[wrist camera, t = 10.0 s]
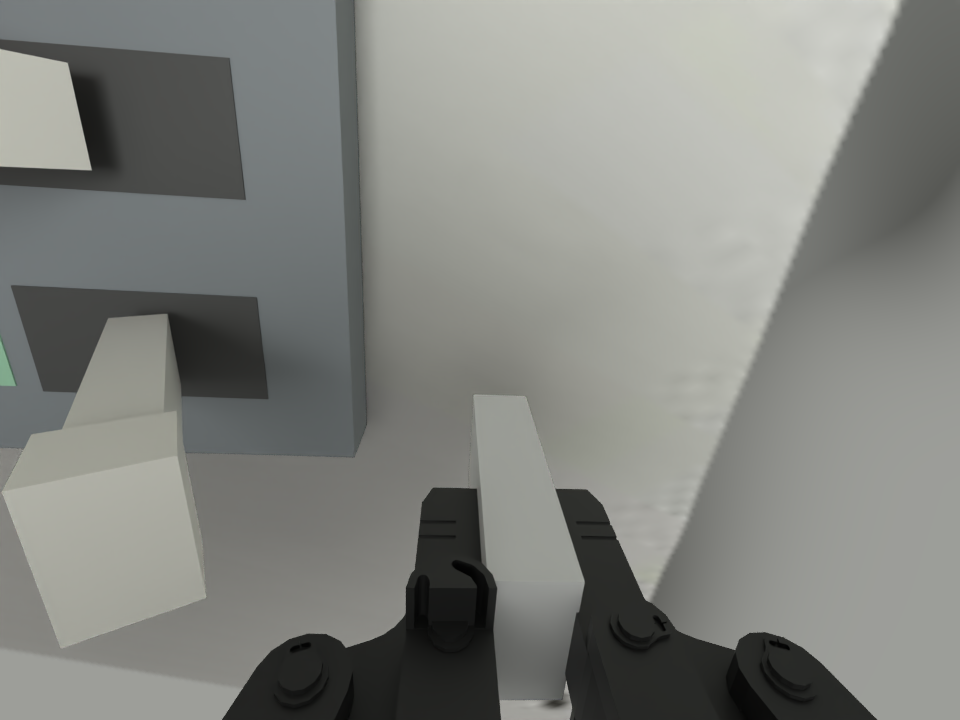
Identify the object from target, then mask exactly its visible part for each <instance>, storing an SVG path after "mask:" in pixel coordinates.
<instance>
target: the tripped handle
mask: <svg viewBox="0 0 960 720" xmlns="http://www.w3.org/2000/svg"><path fill="white" fill-rule="evenodd" d="M2 494H3V497H4V500H5V502H6V505H7V507H8V510H9V513H10V515H11V518H12V521H13V523H14V526H15V529H16V531H17V534H18V537H19V539H20V542H21V545H22V547H23V550H24V553H25V555H26V558H27V561H28V563H29V566H30V568H31V571H32V574H33V576H34V579H35V582H36V584H37V587H38V590H39V592H40V595H41V598H42V600H43V603H44V606H45V608H46V611H47V614H48V616H49V619H50V622H51V624H52V627H53V629H54V632H55V635H56V637H57V640H58V643H59V645H60V648H61V649H62V648H65V647H68V646H70V645H73V644H76V643H79V642H82V641H85V640H88V639H91V638H93V637H96V636H99V635H102V634H105V633H108V632H111V631H114V630H116V629H119V628H122V627H125V626H128V625H131V624H134V623H137V622H139V621H142V620H145V619H148V618H151V617H154V616H157V615H160V614H162V613H165V612H168V611H171V610H174V609H177V608H180V607H183V606H185V605H188V604H191V603H194V602H197V601H200V600H203V599H206V586H205V573H204V559H203V546H202V536H201V531H200V526H199V521H198V516H197V511H196V506H195V501H194V496H193V491H192V486H191V480H190V475H189V470H188V465H187V460H186V455H185V450H184V445H183V431H182V401H181V383H180V377H179V372H178V367H177V361H176V356H175V351H174V345H173V340H172V335H171V330H170V324H169V319H168V314H156V315H143V316H129V317H116V318H108V320H107V322H106V325H105V327H104V329H103V332H102V334H101V337H100V339H99V341H98V344H97V346H96V349H95V351H94V354H93V356H92V358H91V361H90V363H89V366H88V368H87V370H86V373H85V375H84V378H83V380H82V382H81V385H80V387H79V390H78V392H77V394H76V397H75V399H74V402H73V404H72V406H71V409H70V411H69V414H68V416H67V418H66V421H65V423H64V426H63V428H62V429H61V430H55V431H49V432H43V433H37V434H31V436H30V438H29V440H28V442H27V444H26V446H25V448H24V450H23V452H22V454H21V456H20V457H19V459H18V461H17V463H16V465H15V467H14V469H13V471H12V473H11V475H10V477H9V479H8V481H7V482H6V484H5V486H4V488H3V490H2Z"/></svg>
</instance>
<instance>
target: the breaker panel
mask: <svg viewBox="0 0 960 720" xmlns="http://www.w3.org/2000/svg"><path fill="white" fill-rule="evenodd" d="M0 49H2V50H7V51H12V52H17V53H22V54H27V55H32V56H36V57H41V58H46V59H51V60H56V61H61V62H66V63H68V66H69V71H70V75H71V80H72V84H73V89H74V93H75V98H76V102H77V107H78V111H79V115H80V120H81V124H82V129H83V133H84V138H85V142H86V147H87V151H88V156H89V160H90V165H91V169H92V170H70V169H47V168H24V167H1V166H0V448H25V446H26V444H27V442H28V440H29V438H30V436H31V434H37V433H43V432H49V431H55V430H61V429H62V428H63V426H64V423H65V421H66V418H67V416H68V414H69V411H70V409H71V406H72V404H73V402H74V399H75V397H76V394H77V392H78V390H79V387H80V385H81V382H82V380H83V378H84V375H85V373H86V370H87V368H88V366H89V363H90V361H91V358H92V356H93V354H94V351H95V349H96V346H97V344H98V341H99V339H100V337H101V334H102V332H103V329H104V327H105V325H106V322H107V320H108V318H116V317H129V316H143V315H156V314H168V319H169V324H170V330H171V335H172V340H173V345H174V351H175V356H176V361H177V367H178V372H179V377H180V383H181V401H182V431H183V445H184V450H185V453H215V454H252V455H288V456H325V457H355V455H356V452H357V449H358V447H359V444H360V441H361V439H362V436H363V433H364V430H365V428H366V425H367V418H366V384H365V351H364V318H363V285H362V252H361V219H360V185H359V152H358V119H357V86H356V53H355V20H354V0H0Z"/></svg>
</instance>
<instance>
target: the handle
mask: <svg viewBox="0 0 960 720" xmlns="http://www.w3.org/2000/svg"><path fill="white" fill-rule="evenodd" d="M0 166H1V167H24V168H47V169H70V170H92V169H91V165H90V160H89V156H88V151H87V147H86V142H85V138H84V133H83V129H82V124H81V120H80V115H79V111H78V107H77V102H76V98H75V93H74V89H73V84H72V80H71V75H70V71H69V66H68V63H66V62H61V61H56V60H51V59H46V58H41V57H36V56H32V55H27V54H22V53H17V52H12V51H7V50H2V49H0Z"/></svg>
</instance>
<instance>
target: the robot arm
mask: <svg viewBox="0 0 960 720" xmlns="http://www.w3.org/2000/svg"><path fill="white" fill-rule="evenodd" d="M566 681H567V685H568V690H569V694H570V699H571V703H572V712H571V717H570V720H877V719H876V718H875V717H874V716H873V715H872V714H871V713H870V712H869V711H868V710H867V709H866V708H865V707H864V706H863V705H862V704H861V703H860V702H859V701H858V700H857V699H856V698H855V697H854V696H853V695H852V694H851V693H850V692H849V691H848V690H847V689H846V688H845V687H844V686H843V685H842V684H841V683H840V682H839V681H838V680H837V679H836V678H835V677H834V676H833V675H832V674H831V673H830V672H829V671H828V670H827V669H826V668H825V667H824V666H823V665H822V664H821V663H820V662H819V661H818V660H817V659H815V658H814V657H813V656H812V655H811V654H809V653H808V652H807V651H806V650H805V649H803V648H802V647H800V646H798V645H796V644H794V643H793V642H791V641H789V640H787V639H785V638H783V637H780V636H776V635H773V634H769V633H765V632H763V633H749V634H747V635H746V636H744V637H743V638H741V639H740V640H739V642H738V645H737V647H736V650H732V649H729V648H725V647H722V646H719V645H716V644H712V643H709V642H705V641H702V640H698V639H695V638H693V637H690V636H688V635H685V634H683V633H681V632H679V631H677V630H676V629H675V627H674V626H673V625H672V623H671V622H670V620H669V619H668V617H667V616H666V615H665V614H664V613H663V612H662V611H660V610H659V609H658V608H657V607H656V606H654V605H653V604H652V603H650V602H648V601H646V600H645V599H644V597H643V595H642V593H641V590H640V588H639V586H638V584H637V581H636V579H635V577H634V575H633V572H632V570H631V568H630V566H629V563H628V561H627V559H626V557H625V555H624V552H623V550H622V548H621V546H620V543H619V541H618V540H617V539H616V534H615V532H614V530H613V528H612V525H610V521H609V519H608V516H607V514H606V512H605V510H604V508H603V505H602V504H601V503H600V502H599V501H598V500H597V499H596V498H595V497H594V496H593V495H592V494H591V493H590V492H589V491H588V490H583V489H555V487H554V484H553V480H552V477H551V474H550V471H549V468H548V465H547V462H546V458H545V455H544V452H543V449H542V446H541V443H540V439H539V436H538V433H537V430H536V427H535V424H534V421H533V417H532V414H531V411H530V408H529V405H528V402H527V399H526V396H510V395H482V394H474V395H473V411H472V427H471V443H470V459H469V488H432V490H431V491H430V492H429V494H428V495H427V497H426V498H425V499H424V501H423V502H422V509H421V518H420V527H419V538H418V546H417V555H416V564H415V570H414V571H413V572H412V573H411V575H410V578H409V581H408V584H407V586H406V614H405V616H404V617H403V619H402V620H401V621H400V622H399V623H398V624H397V625H396V626H395V627H394V628H392V629H391V630H390V631H388V632H387V633H385V634H384V635H382V636H379V637H377V638H375V639H372V640H370V641H367V642H364V643H360V644H357V645H354V646H351V647H348V648H345V646H344V645H343V644H342V642H341V641H339V640H337V639H335V638H333V637H331V636H329V635H327V634H305V635H302V636H299V637H295V638H292V639H289V640H288V641H286V642H284V643H283V644H281V645H280V646H278V647H277V648H275V649H273V650H272V651H271V652H270V653H269V654H268V655H267V656H266V658H265V659H264V660H263V661H262V662H261V663H260V664H259V665H258V666H257V668H256V669H255V671H254V672H253V674H252V675H251V677H250V678H249V680H248V681H247V683H246V684H245V686H244V687H243V689H242V690H241V692H240V693H239V695H238V697H237V698H236V699H235V701H234V703H233V704H232V706H231V707H230V709H229V710H228V712H227V713H226V715H225V716H224V718H223V719H222V720H501V715H500V703H499V700H562V699H563V694H564V689H565V684H566Z"/></svg>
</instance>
